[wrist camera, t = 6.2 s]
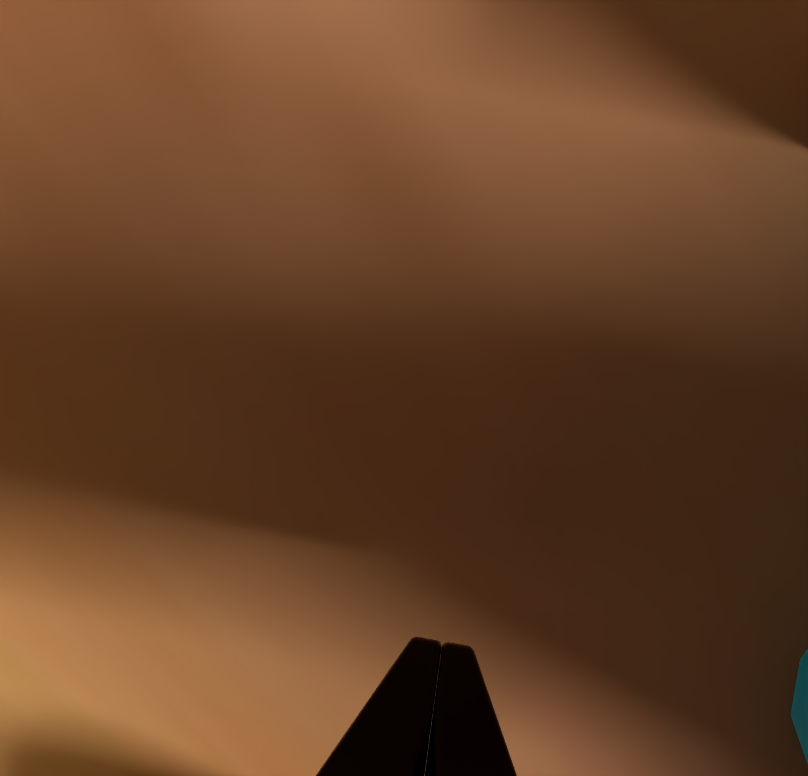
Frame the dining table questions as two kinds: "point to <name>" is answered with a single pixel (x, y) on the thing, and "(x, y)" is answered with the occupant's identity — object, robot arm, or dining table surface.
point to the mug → (801, 704)
